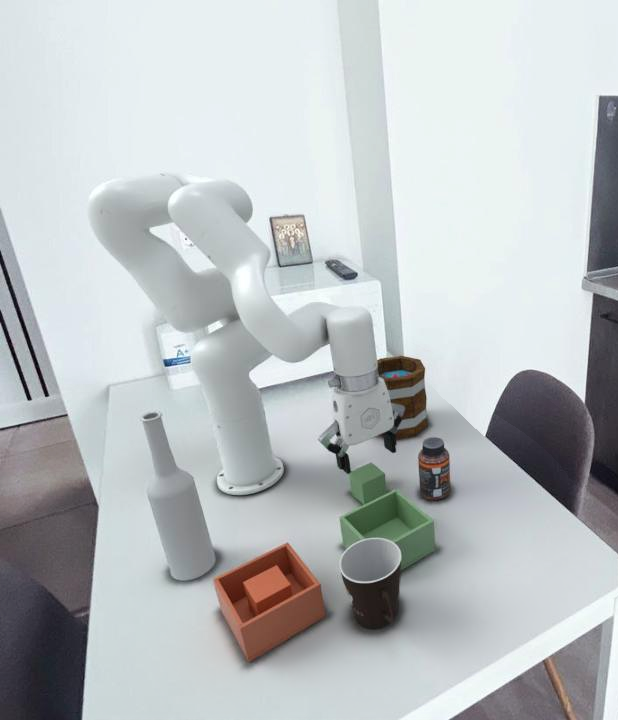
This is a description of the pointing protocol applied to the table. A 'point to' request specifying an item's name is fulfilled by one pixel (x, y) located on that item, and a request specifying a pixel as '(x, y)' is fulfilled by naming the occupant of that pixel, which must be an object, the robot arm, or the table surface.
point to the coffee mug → (372, 581)
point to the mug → (406, 392)
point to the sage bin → (391, 526)
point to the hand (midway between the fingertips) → (368, 460)
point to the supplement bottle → (434, 469)
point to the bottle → (176, 508)
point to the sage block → (367, 483)
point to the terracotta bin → (279, 619)
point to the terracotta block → (267, 590)
